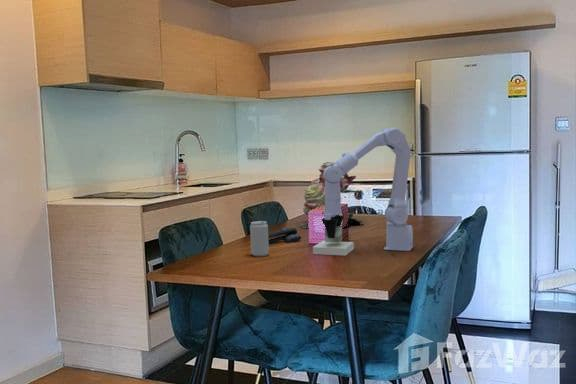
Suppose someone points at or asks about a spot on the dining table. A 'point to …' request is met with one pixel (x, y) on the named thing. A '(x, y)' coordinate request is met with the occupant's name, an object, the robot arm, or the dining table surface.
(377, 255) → the dining table surface
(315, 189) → the rose bouquet
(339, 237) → the green cube
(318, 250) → the stacking base
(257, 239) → the beverage can
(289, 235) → the can opener
